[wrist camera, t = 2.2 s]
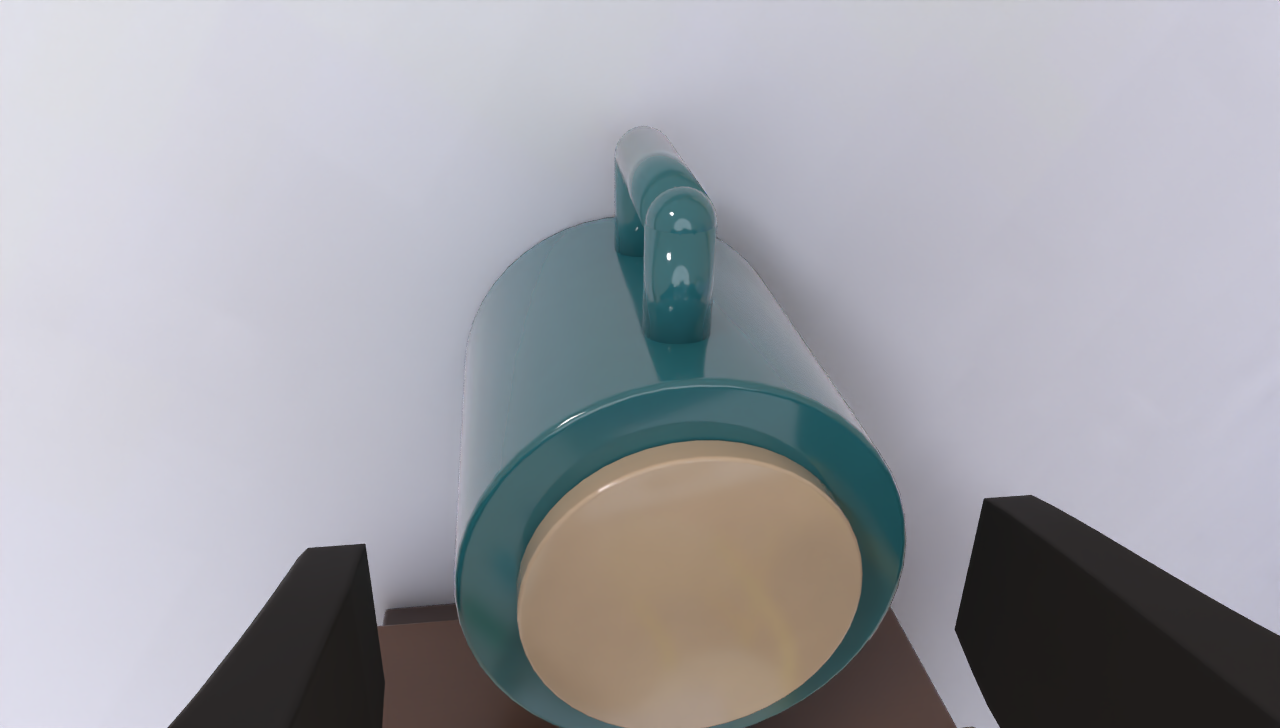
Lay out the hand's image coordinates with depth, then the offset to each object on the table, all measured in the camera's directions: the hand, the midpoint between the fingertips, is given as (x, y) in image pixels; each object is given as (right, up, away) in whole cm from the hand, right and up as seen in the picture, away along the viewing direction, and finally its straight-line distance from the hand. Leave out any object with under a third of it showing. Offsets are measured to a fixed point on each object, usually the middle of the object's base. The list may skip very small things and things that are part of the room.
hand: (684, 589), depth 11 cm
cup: (-1, +3, +5) cm, 6 cm away
